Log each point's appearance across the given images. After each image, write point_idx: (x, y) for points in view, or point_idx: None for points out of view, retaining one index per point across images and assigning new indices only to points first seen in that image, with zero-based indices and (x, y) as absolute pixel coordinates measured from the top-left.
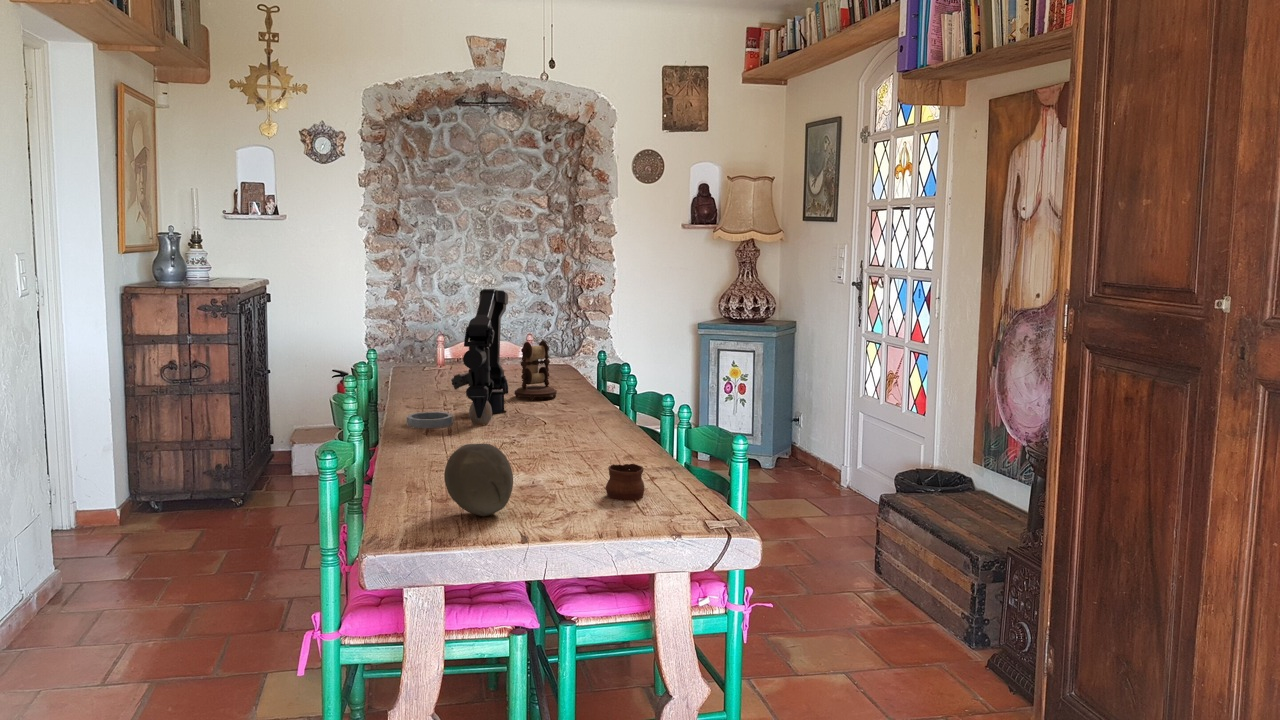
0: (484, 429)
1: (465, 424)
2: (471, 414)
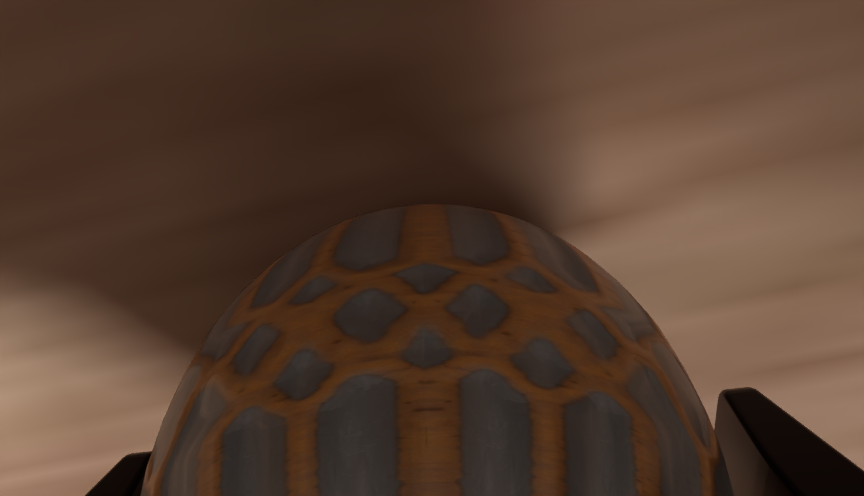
0: (11, 455)
1: (339, 65)
2: (190, 369)
